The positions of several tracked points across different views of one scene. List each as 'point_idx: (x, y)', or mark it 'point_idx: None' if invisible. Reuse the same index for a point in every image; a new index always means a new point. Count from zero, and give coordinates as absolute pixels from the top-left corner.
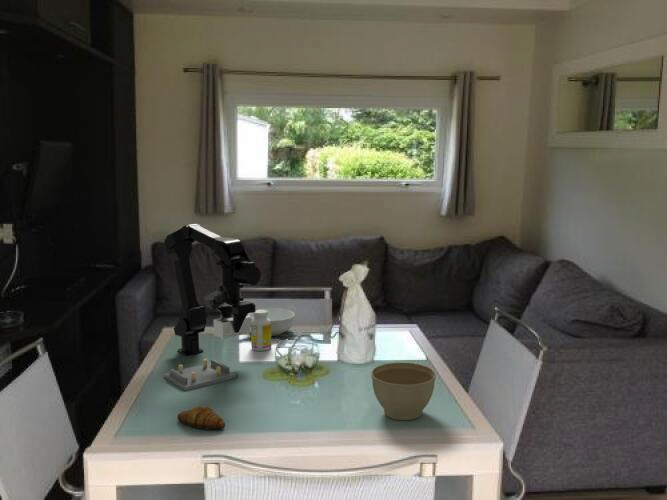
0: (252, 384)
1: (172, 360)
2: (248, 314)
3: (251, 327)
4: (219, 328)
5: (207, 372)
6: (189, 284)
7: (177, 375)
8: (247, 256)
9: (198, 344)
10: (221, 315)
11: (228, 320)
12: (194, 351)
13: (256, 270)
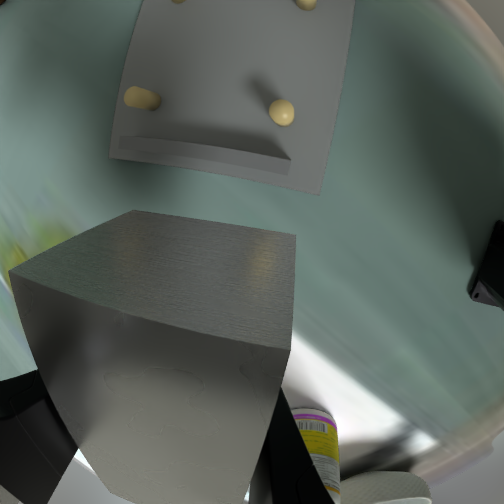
0: (49, 164)
1: (498, 143)
2: (428, 499)
3: (322, 478)
4: (136, 248)
5: (215, 81)
6: None
7: None
8: None
9: (493, 288)
10: (320, 495)
11: (72, 395)
12: (487, 256)
13: None
